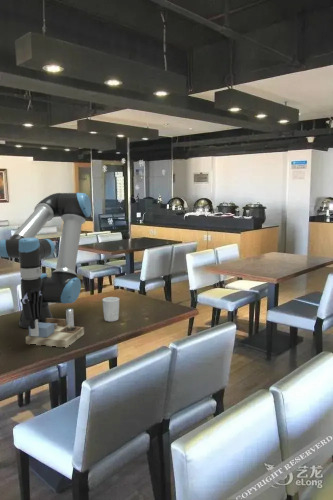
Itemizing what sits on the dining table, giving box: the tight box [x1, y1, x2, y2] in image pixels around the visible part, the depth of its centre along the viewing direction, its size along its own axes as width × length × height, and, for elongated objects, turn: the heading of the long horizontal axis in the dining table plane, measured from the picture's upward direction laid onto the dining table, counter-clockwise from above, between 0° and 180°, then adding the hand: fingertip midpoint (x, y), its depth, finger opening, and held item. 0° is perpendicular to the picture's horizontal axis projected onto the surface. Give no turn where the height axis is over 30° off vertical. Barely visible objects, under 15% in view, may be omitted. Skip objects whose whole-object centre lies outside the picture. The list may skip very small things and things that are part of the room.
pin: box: [65, 308, 75, 331], centre depth 172 cm, size 3×3×12 cm
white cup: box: [102, 296, 120, 322], centre depth 195 cm, size 8×8×10 cm
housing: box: [28, 322, 54, 337], centre depth 167 cm, size 8×6×4 cm
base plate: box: [25, 317, 85, 349], centre depth 171 cm, size 18×16×6 cm
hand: (34, 335), depth 163 cm, fingers closed
